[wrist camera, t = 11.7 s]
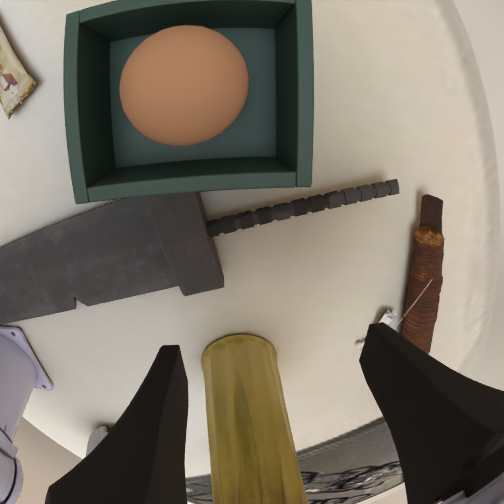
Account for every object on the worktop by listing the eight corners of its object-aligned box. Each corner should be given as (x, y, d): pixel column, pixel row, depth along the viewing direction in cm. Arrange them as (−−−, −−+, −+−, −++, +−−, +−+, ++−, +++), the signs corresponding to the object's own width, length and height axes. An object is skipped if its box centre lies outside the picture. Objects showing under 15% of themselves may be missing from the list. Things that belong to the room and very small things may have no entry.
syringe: (347, 347, 25) (364, 345, 26) (357, 365, 24) (374, 361, 24) (411, 261, 20) (427, 262, 20) (427, 279, 18) (441, 279, 19)
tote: (109, 179, 16) (75, 204, 11) (102, 35, 12) (65, 14, 8) (285, 166, 17) (312, 187, 13) (284, 21, 13) (311, -8, 9)
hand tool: (400, 396, 31) (416, 415, 28) (380, 408, 30) (395, 428, 27) (430, 185, 19) (466, 198, 16) (401, 193, 18) (439, 209, 15)
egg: (124, 115, 14) (67, 121, 8) (171, 30, 12) (146, -19, 6) (210, 156, 16) (208, 185, 10) (259, 72, 14) (293, 45, 8)
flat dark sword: (-42, 259, 16) (-54, 270, 15) (383, 126, 16) (400, 129, 14) (-6, 325, 20) (-16, 338, 18) (392, 233, 19) (406, 245, 17)
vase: (197, 380, 24) (203, 539, 11) (205, 328, 22) (214, 524, 9) (266, 384, 25) (298, 532, 13) (285, 335, 23) (339, 510, 10)
